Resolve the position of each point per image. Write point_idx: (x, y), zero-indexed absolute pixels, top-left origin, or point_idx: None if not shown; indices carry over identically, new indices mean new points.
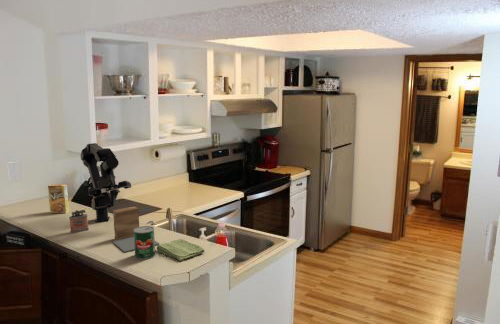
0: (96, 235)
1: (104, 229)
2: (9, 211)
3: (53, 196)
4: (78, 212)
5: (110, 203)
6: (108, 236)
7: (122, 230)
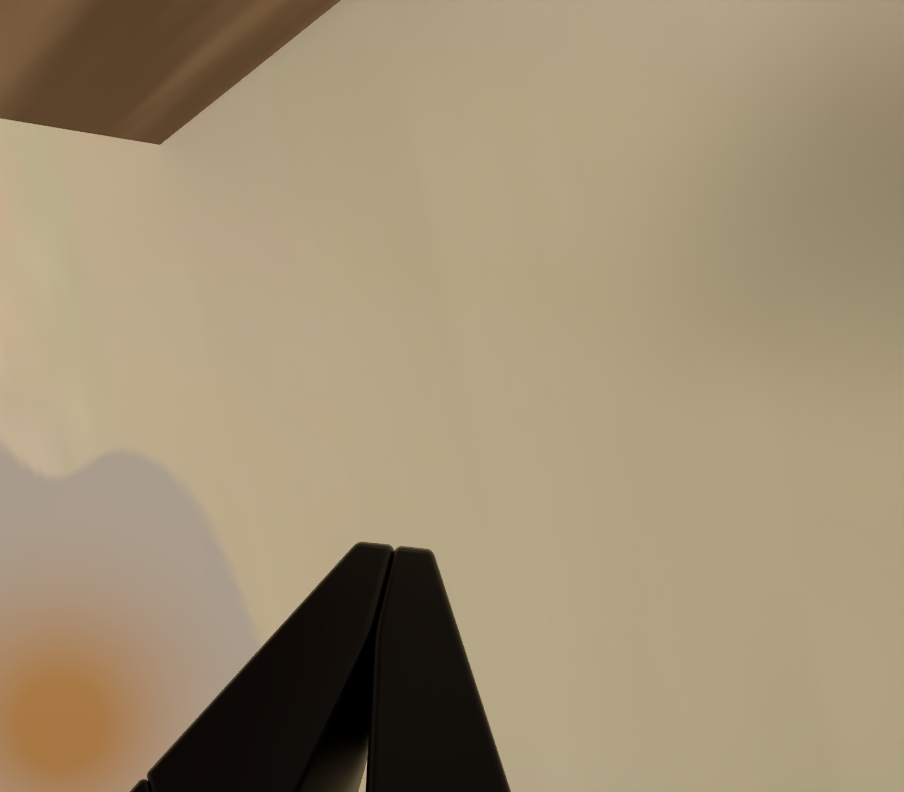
0: (894, 124)
1: (782, 497)
2: None
3: None
4: None
5: (440, 643)
6: (615, 37)
7: None
